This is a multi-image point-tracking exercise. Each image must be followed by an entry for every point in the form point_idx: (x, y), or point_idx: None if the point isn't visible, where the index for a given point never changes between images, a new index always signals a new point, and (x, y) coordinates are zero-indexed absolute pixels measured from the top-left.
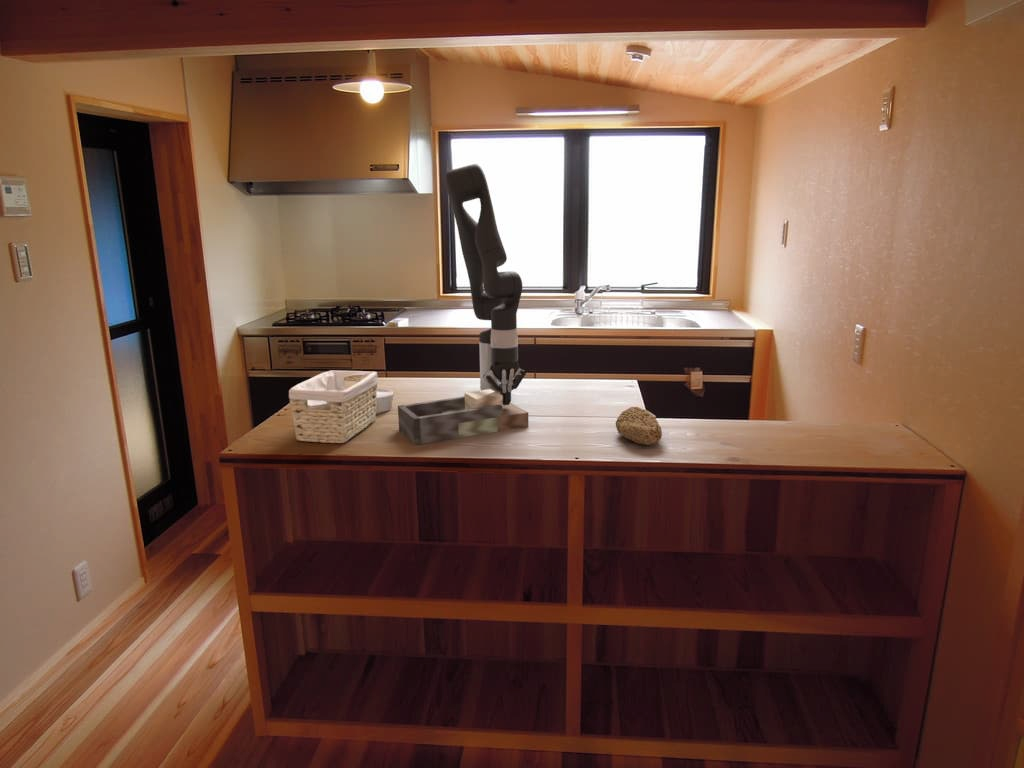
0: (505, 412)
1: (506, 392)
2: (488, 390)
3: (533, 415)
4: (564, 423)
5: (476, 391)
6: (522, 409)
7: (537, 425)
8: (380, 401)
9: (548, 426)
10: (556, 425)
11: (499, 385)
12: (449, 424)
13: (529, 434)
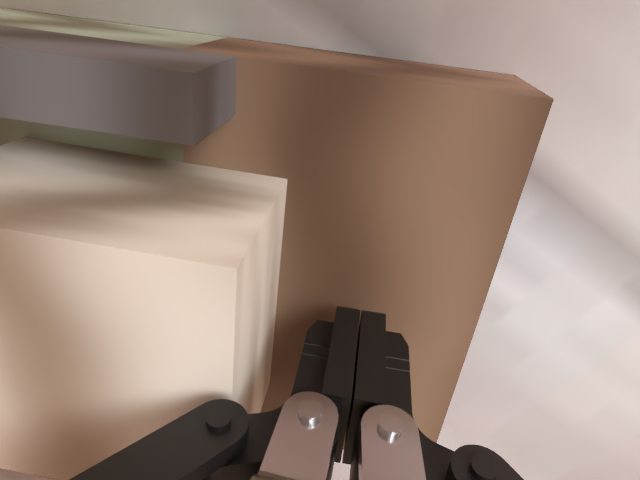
0: (293, 384)
1: (344, 450)
2: (179, 309)
3: (633, 256)
4: (621, 465)
5: (15, 254)
6: (444, 406)
7: (473, 407)
8: None
9: (507, 447)
10: (556, 461)
11: (270, 473)
12: None
13: (338, 464)
